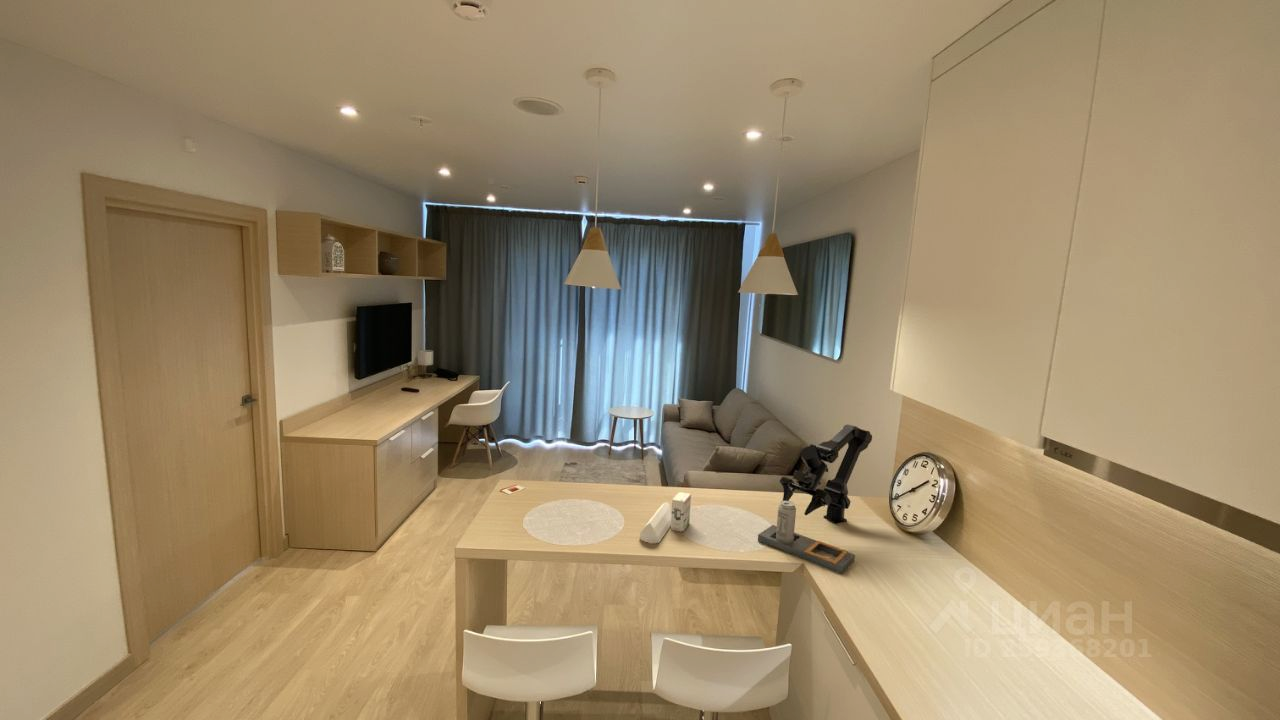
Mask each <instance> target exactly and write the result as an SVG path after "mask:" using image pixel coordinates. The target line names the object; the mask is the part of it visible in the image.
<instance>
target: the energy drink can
mask: <svg viewBox="0 0 1280 720" xmlns="http://www.w3.org/2000/svg"><path fill="white" fill-rule="evenodd" d="M796 515H797V508H796V504H795V503H794V502H793V501H790V500H789V501H783V500H781V501H780V503H779V504H778V507H777V520H776V526H777V530H776V538H775V539H777V540H779V541H782V542H785V543H787V544H790V545H791V544H792V543H793V542H794V533H795V528H796Z"/></svg>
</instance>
